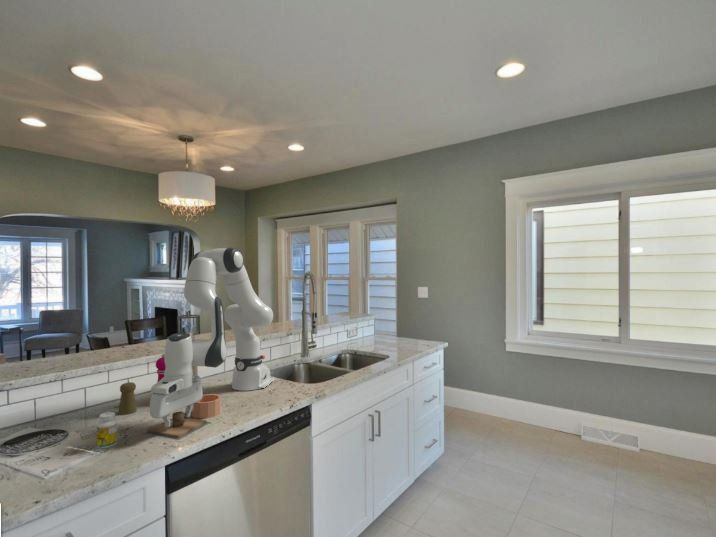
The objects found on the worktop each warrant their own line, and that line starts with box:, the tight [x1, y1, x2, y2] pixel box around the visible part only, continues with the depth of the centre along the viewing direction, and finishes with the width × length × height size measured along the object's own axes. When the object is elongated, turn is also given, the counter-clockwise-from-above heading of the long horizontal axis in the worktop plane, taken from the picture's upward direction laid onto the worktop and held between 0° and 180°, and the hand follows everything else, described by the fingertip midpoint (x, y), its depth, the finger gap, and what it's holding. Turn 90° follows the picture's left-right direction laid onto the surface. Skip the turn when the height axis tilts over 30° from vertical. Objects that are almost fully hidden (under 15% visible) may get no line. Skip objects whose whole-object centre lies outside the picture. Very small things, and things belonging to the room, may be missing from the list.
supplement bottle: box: [95, 411, 119, 449], centre depth 115 cm, size 5×5×10 cm
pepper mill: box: [152, 353, 166, 395], centre depth 154 cm, size 7×7×20 cm
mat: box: [142, 421, 212, 441], centre depth 127 cm, size 15×15×1 cm
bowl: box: [190, 393, 222, 420], centre depth 141 cm, size 10×10×6 cm
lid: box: [146, 411, 208, 438], centre depth 127 cm, size 13×13×5 cm
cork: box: [117, 381, 137, 416], centre depth 142 cm, size 6×6×11 cm
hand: (177, 421), depth 127 cm, fingers open, 7 cm apart
